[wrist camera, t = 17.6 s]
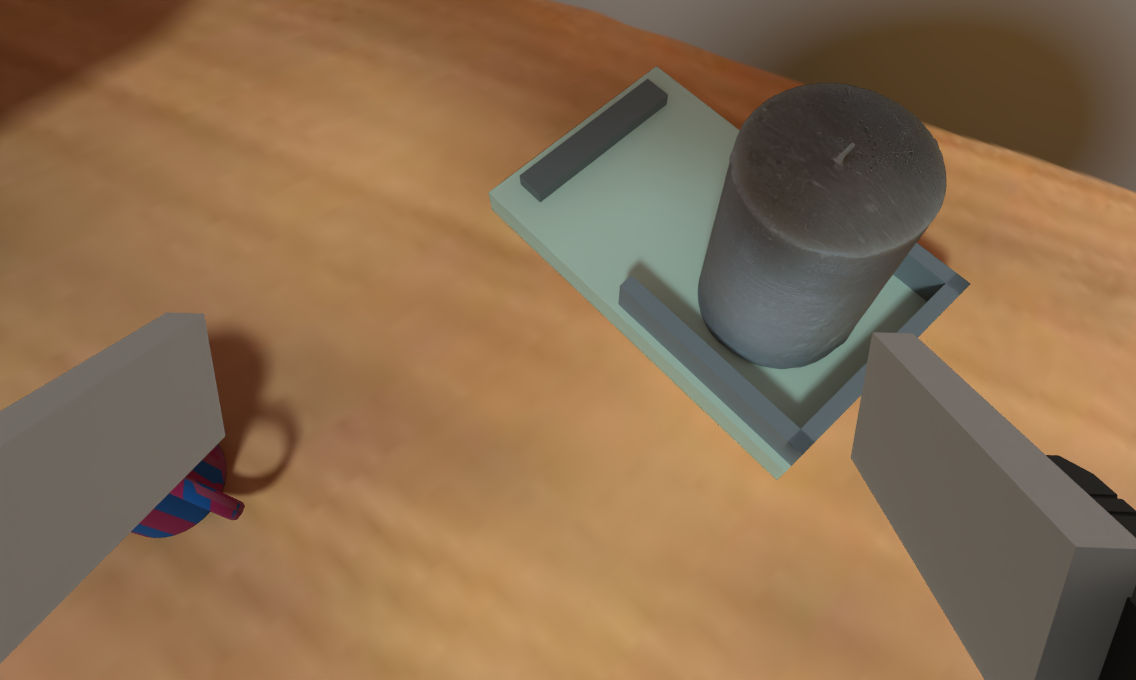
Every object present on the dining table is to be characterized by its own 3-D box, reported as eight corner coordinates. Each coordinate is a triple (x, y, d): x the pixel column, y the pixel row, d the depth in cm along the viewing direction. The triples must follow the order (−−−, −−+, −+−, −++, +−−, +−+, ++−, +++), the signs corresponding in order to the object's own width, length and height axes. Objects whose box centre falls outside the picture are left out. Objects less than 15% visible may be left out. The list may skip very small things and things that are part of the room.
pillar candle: (826, 222, 48) (915, 45, 35) (875, 358, 44) (998, 219, 31) (679, 246, 48) (711, 77, 34) (716, 385, 44) (768, 257, 30)
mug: (166, 409, 46) (100, 369, 40) (292, 486, 44) (244, 456, 38) (90, 502, 44) (8, 476, 38) (220, 588, 42) (156, 575, 36)
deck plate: (492, 209, 52) (483, 169, 48) (654, 85, 56) (659, 39, 52) (776, 479, 44) (796, 460, 39) (942, 312, 48) (975, 278, 44)
